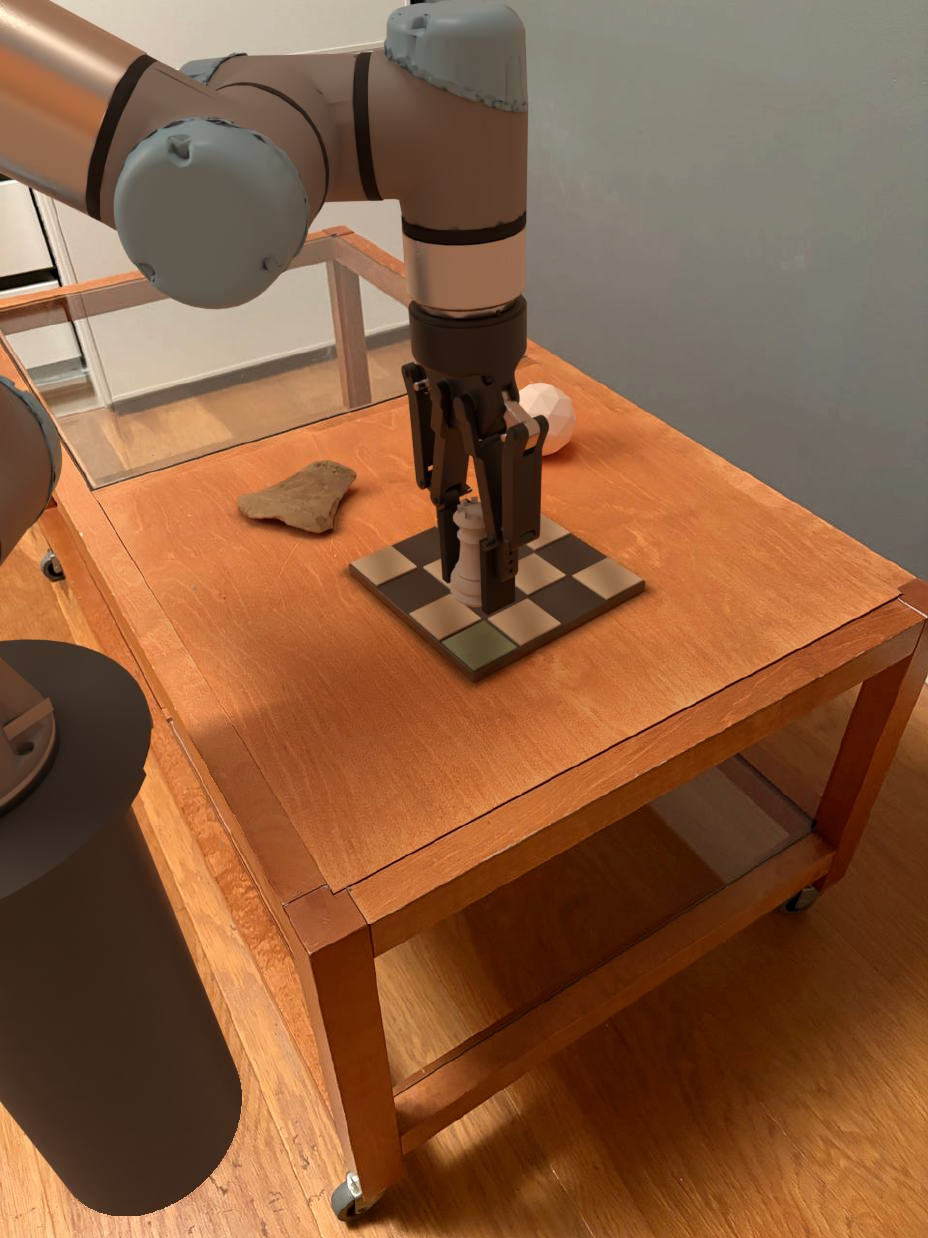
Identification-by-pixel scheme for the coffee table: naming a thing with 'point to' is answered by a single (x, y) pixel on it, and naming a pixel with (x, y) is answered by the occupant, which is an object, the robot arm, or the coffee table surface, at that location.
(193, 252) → the robot arm
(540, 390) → the geometric ball
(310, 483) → the pottery shard
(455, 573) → the rook chess piece
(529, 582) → the game board
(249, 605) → the coffee table surface
